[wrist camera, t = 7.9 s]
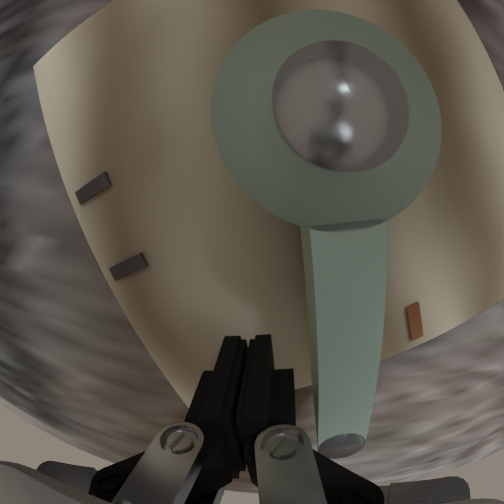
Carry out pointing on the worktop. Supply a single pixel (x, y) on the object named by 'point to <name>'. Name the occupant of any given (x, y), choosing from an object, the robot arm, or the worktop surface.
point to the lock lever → (331, 180)
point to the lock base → (234, 197)
